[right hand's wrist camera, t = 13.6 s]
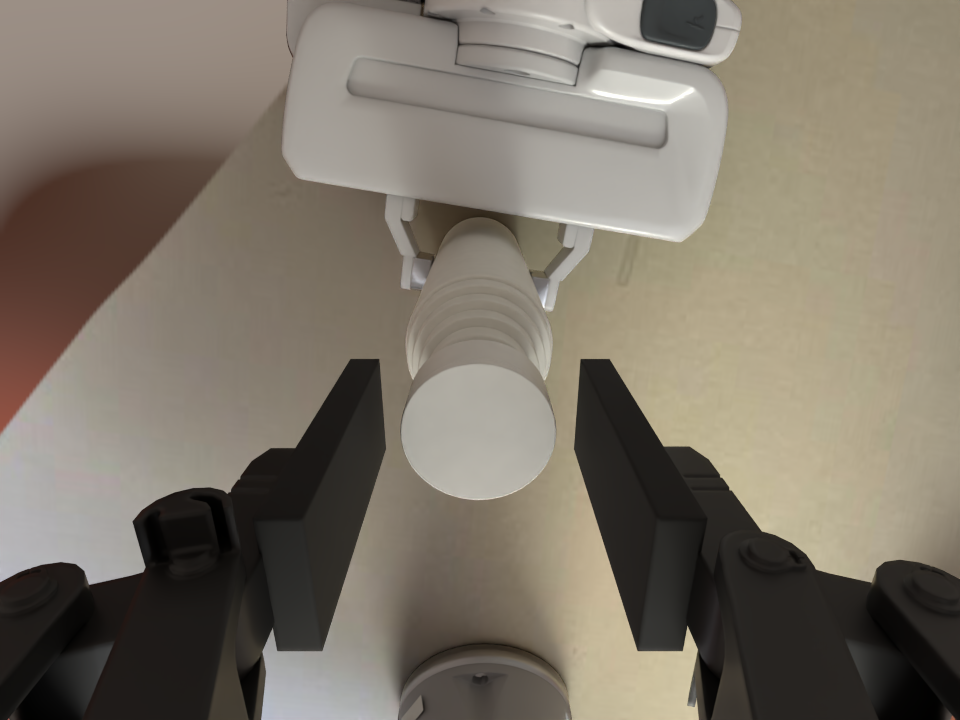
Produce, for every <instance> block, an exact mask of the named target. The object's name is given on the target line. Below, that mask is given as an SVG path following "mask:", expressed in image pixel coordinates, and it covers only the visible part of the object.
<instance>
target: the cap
mask: <svg viewBox="0 0 960 720" xmlns="http://www.w3.org/2000/svg"><path fill="white" fill-rule="evenodd" d="M400 432H401V442H402V446H403V450H404V452H405V455H406V457H407V459H408V461H409V463H410V465H411V466H412V467H413V469H414V470H415V471H416V473H417V474H418V475H419V476H420V477H421V478H422V479H423V480H424V481H426V482H427V483H428V484H429V485H431V486H433V487H434V488H436V489H437V490H439V491H442V492H444V493H446V494H448V495H452V496H455V497H459V498H463V499H472V500H486V499H494V498H498V497H502V496H506V495H508V494H511V493H513V492H515V491H517V490H519V489H521V488H523V487H524V486H526V485H527V484H529V483H530V482H531V481H532V480H534V479H535V478H536V477H537V476H538V475H539V474H540V472H541V471H542V470H543V469H544V467H545V466H546V464H547V463H548V461H549V459H550V457H551V455H552V452H553V449H554V445H555V440H556V422H555V417H554V413H553V410H552V406H551V402H550V399H549V395H548V392H547V388H546V384H545V382H544V380H543V377H542V375H541V374H540V372H539V370H538V369H537V368H536V366H535V365H534V364H533V363H532V362H531V361H530V360H529V359H528V358H527V357H526V356H525V355H523V354H522V353H521V352H519V351H518V350H516V349H514V348H512V347H510V346H508V345H505V344H502V343H499V342H495V341H489V340H468V341H462V342H458V343H455V344H452V345H449V346H447V347H445V348H443V349H441V350H440V351H438V352H436V353H435V354H434V355H432V356H431V357H430V358H429V359H428V360H427V361H426V362H425V363H424V364H423V365H422V366H421V368H420V369H419V370H418V372H417V374H416V376H415V377H414V380H413V382H412V385H411V388H410V391H409V395H408V398H407V401H406V405H405V408H404V412H403V416H402V420H401V430H400Z"/></svg>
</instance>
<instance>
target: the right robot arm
mask: <svg viewBox="0 0 960 720" xmlns="http://www.w3.org/2000/svg"><path fill="white" fill-rule="evenodd" d="M385 450H386V444H385V430H384V417H383V403H382V390H381V376H380V363H379V359H350V361H349V363H348V364H347V366H346V367H345V369H344V371H343V372H342V374H341V375H340V377H339V379H338V380H337V382H336V384H335V385H334V387H333V388H332V390H331V392H330V393H329V395H328V397H327V398H326V400H325V401H324V403H323V405H322V406H321V408H320V409H319V411H318V413H317V414H316V416H315V418H314V419H313V421H312V422H311V424H310V426H309V427H308V429H307V430H306V432H305V434H304V435H303V437H302V439H301V440H300V442H299V443H298V445H297V447H296V448H271V449H269V450H268V451H266V452H265V453H263V454H262V455H260V456H259V457H257V458H256V459H254V460H253V461H252V462H251V463H250V464H249V466H248V467H247V468H246V470H245V471H244V472H243V474H242V475H241V478H240V480H238V481H237V482H236V483H235V485H234V486H233V487H232V489H231V492H229V493H228V494H227V493H225V492H224V491H223V490H218V489H214V488H192V489H188V490H183V491H179V492H175V493H172V494H170V495H168V496H165V497H163V498H161V499H158V500H156V501H155V502H153V503H152V504H150V505H149V506H147V507H146V508H145V509H143V510H142V511H141V512H140V513H139V514H138V516H137V517H136V518H135V519H134V521H133V525H134V528H135V532H136V535H137V539H138V542H139V546H140V549H141V552H142V556H143V559H144V563H145V566H146V568H145V570H144V572H143V573H139V574H136V575H132V576H128V577H123V578H119V579H114V580H110V581H105V582H101V583H96V584H92V585H89V584H88V581H87V578H86V575H85V572H84V570H82V569H81V568H80V567H79V566H77V565H76V564H70V563H63V562H59V563H52V564H45V565H40V566H37V567H33V568H31V569H27V570H24V571H22V572H19V573H17V574H15V575H13V576H11V577H9V578H8V579H6V580H4V581H2V582H0V720H8V718H9V719H10V720H261V715H262V706H263V696H264V687H265V677H266V670H265V663H264V657H263V652H262V651H263V648H264V646H265V644H266V642H267V639H268V637H269V635H270V632H271V630H272V628H273V631H274V636H275V641H276V646H277V651H322V650H323V647H324V644H325V641H326V638H327V634H328V631H329V628H330V625H331V622H332V618H333V615H334V612H335V609H336V606H337V603H338V599H339V596H340V593H341V590H342V587H343V584H344V580H345V577H346V574H347V571H348V568H349V564H350V561H351V558H352V555H353V552H354V549H355V545H356V542H357V539H358V536H359V533H360V530H361V526H362V523H363V520H364V517H365V514H366V510H367V507H368V504H369V501H370V498H371V495H372V491H373V488H374V485H375V482H376V479H377V476H378V472H379V469H380V466H381V463H382V460H383V456H384V453H385ZM574 450H575V453H576V456H577V460H578V463H579V466H580V469H581V472H582V475H583V479H584V482H585V485H586V488H587V491H588V495H589V498H590V501H591V504H592V507H593V510H594V514H595V517H596V520H597V523H598V526H599V530H600V533H601V536H602V539H603V542H604V545H605V549H606V552H607V555H608V558H609V561H610V564H611V568H612V571H613V574H614V577H615V580H616V584H617V587H618V590H619V593H620V596H621V599H622V603H623V606H624V609H625V612H626V615H627V618H628V622H629V625H630V628H631V631H632V634H633V638H634V641H635V644H636V647H637V650H638V651H683V646H684V641H685V636H686V631H687V625H688V627H689V630H690V632H691V634H692V637H693V639H694V641H695V643H696V646H697V648H698V652H697V657H696V662H695V667H694V672H693V677H692V682H691V687H690V692H689V698H688V705H687V706H692V707H695V703H696V698H697V704H698V714H699V720H950V719H951V717H952V716H953V717H954V718H955V719H956V720H960V579H958V578H956V577H954V576H952V575H950V574H948V573H946V572H945V571H943V570H940V569H938V568H935V567H931V566H929V565H925V564H922V563H918V562H911V561H904V560H896V561H888V562H884V563H883V564H882V565H881V566H879V567H878V568H877V569H876V572H875V575H874V578H873V581H872V583H870V582H865V581H861V580H856V579H852V578H847V577H843V576H838V575H834V574H829V573H826V572H822V571H819V570H816V569H815V567H814V565H813V564H812V562H811V561H810V559H809V558H808V557H807V555H806V554H805V553H804V552H802V551H801V550H800V549H798V548H797V547H796V546H795V545H793V544H792V543H790V542H788V541H786V540H784V539H782V538H780V537H778V536H776V535H773V534H769V533H765V532H762V531H761V530H760V528H759V527H758V526H757V524H756V523H755V522H754V520H753V519H752V518H751V516H750V515H749V514H748V512H747V511H746V509H745V508H744V507H743V505H742V504H741V503H740V501H739V500H738V499H737V497H736V496H735V495H734V493H733V492H732V491H730V490H729V486H728V485H727V484H726V482H725V481H724V480H723V478H720V474H719V473H718V472H717V470H716V469H715V468H714V466H713V465H712V463H711V462H710V461H709V460H708V459H707V458H706V457H704V456H703V455H701V454H700V453H698V452H697V451H695V450H694V449H692V448H691V447H663V445H662V443H661V442H660V440H659V439H658V437H657V435H656V434H655V432H654V430H653V429H652V427H651V426H650V424H649V422H648V421H647V419H646V418H645V416H644V414H643V413H642V411H641V409H640V408H639V406H638V405H637V403H636V401H635V400H634V398H633V397H632V395H631V393H630V392H629V390H628V388H627V387H626V385H625V384H624V382H623V380H622V379H621V377H620V375H619V374H618V372H617V371H616V369H615V367H614V366H613V364H612V363H611V361H610V359H581V363H580V376H579V390H578V403H577V417H576V430H575V444H574ZM398 720H572V718H571V710H570V704H569V698H568V693H567V689H566V687H565V684H564V682H563V681H562V679H561V677H560V676H559V675H558V673H557V672H556V671H555V670H554V669H553V668H552V667H551V666H550V665H549V664H547V663H546V662H544V661H543V660H542V659H540V658H538V657H537V656H535V655H532V654H530V653H528V652H526V651H523V650H520V649H517V648H513V647H508V646H503V645H493V644H476V645H467V646H461V647H457V648H453V649H450V650H447V651H444V652H442V653H439V654H437V655H435V656H433V657H431V658H430V659H428V660H427V661H425V662H424V663H423V664H421V665H420V666H419V667H418V668H417V669H416V670H415V671H414V672H413V673H412V674H411V675H410V677H409V678H408V680H407V681H406V683H405V685H404V688H403V691H402V695H401V701H400V708H399V715H398Z"/></svg>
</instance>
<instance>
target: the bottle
mask: <svg viewBox="0 0 960 720" xmlns="http://www.w3.org/2000/svg"><path fill="white" fill-rule="evenodd" d="M468 340H489V341H495V342H499V343H502V344H505V345H508V346H510V347H512V348H514V349H516V350H518V351H519V352H521V353H522V354H523V355H525V356H526V357H527V358H528V359H529V360H530V361H531V362H532V363H533V364H534V365H535V366H536V368H537V369H538V370H539V372H540V374H541V375H542V377H543V380H544V381H545V379H546V377H547V374H548V371H549V368H550V363H551V356H552V350H553V338H552V330H551V326H550V323H549V320H548V318H547V315H546V313H545V310H544V308H543V305H542V303H541V300H540V298H539V295H538V293H537V290H536V288H535V285H534V283H533V280H532V278H531V275H530V273H529V270H528V268H527V265H526V263H525V260H524V258H523V255H522V253H521V250H520V248H519V245H518V243H517V240H516V238H515V237H514V235H513V234H512V232H511V231H510V230H509V229H508V228H507V227H506V226H504V225H503V224H501V223H500V222H498V221H496V220H493V219H490V218H484V217H475V218H469V219H466V220H464V221H461V222H460V223H458V224H456V225H455V226H454V227H453V228H451V229H450V230H449V232H448V233H447V234H446V236H445V237H444V239H443V241H442V243H441V246H440V248H439V250H438V253H437V255H436V257H435V260H434V262H433V265H432V267H431V269H430V272H429V274H428V277H427V279H426V281H425V284H424V286H423V289H422V291H421V293H420V296H419V298H418V301H417V303H416V305H415V308H414V310H413V312H412V315H411V317H410V320H409V323H408V326H407V331H406V339H405V347H406V356H407V364H408V368H409V371H410V374H411V377H412V379H413V380H414V377H415V376H416V374H417V372H418V370H419V369H420V368H421V366H422V365H423V364H424V363H425V362H426V361H427V360H428V359H429V358H430V357H431V356H432V355H434V354H435V353H436V352H438V351H440V350H441V349H443V348H445V347H447V346H449V345H452V344H455V343H458V342H462V341H468Z"/></svg>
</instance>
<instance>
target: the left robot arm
mask: <svg viewBox="0 0 960 720" xmlns="http://www.w3.org/2000/svg"><path fill="white" fill-rule="evenodd" d="M423 3H424V11H423V7H422V5H423ZM422 15H423V16H424V17H423V16H422ZM741 24H742V15H741V12H740V9H739V8H738V7H737V5H736V4H735V3H734V2H732V1H731V0H287V31H286V36H287V43H288V47H289V50H290V53H291V55H292V57H293V60H292V65H291V70H290V75H289V81H288V87H287V93H286V100H285V108H284V117H283V127H282V142H281V150H282V155H283V158H284V159H285V161H286V162H287V164H288V166H289V167H290V169H291V170H292V172H293V173H294V175H295V176H296V177H297V178H299V179H302V180H307V181H313V182H319V183H325V184H331V185H337V186H343V187H349V188H355V189H361V190H367V191H373V192H379V193H385V194H387V196H386V207H385V220H386V222H387V225H388V227H389V229H390V231H391V234H392V236H393V238H394V240H395V243H396V245H397V247H398V249H399V252H400V254H401V255H403V264H402V273H401V283H400V286H401V288H403V289H408V290H417V291H422V289H423V286H424V284H425V281H426V279H427V277H428V274H429V272H430V269H431V267H432V265H433V262H434V255H435V254H431V253H425V252H420V250H419V247H418V245H417V242H416V240H415V237H414V235H413V232H412V230H411V227H410V225H409V222H411V221H412V220H413V219H414V218H415V217H416V216H417V215H418V207H419V199H421V200H427V201H433V202H439V203H445V204H451V205H457V206H463V207H469V208H475V209H481V210H487V211H493V212H499V213H505V214H511V215H517V216H523V217H529V218H535V219H541V220H547V221H553V222H559V223H560V226H559V231H558V236H557V239H558V240H559V241H560V243H561V244H562V245H563V246H564V247H563V248H562V250H561V251H560V252H559V253H558V254H557V255H556V257H555V258H554V259H553V260H552V261H551V263H550V264H549V265H548V266H547V267H546V269H545V270H544V271H537V270H529V273H530V275H531V278H532V280H533V283H534V285H535V288H536V290H537V293H538V295H539V298H540V300H541V303H542V305H543V308H544V310H545V311H549V312H552V311H553V308H554V305H555V301H556V296H557V292H558V287H559V282H560V281H563V280H564V278H565V277H566V276H567V275H568V274H569V273H570V272H571V271H572V270H573V269H574V268H575V266H576V265H577V264H578V263H579V262H580V261H581V260H582V259H583V258H584V257H585V255H586V254H587V253H588V252H589V249H590V245H591V241H592V237H593V233H594V228H595V229H601V230H607V231H613V232H619V233H625V234H631V235H637V236H643V237H649V238H655V239H661V240H667V241H673V242H682V241H684V240H685V239H686V238H688V237H689V236H690V235H691V234H692V233H693V232H695V231H696V230H697V229H698V228H699V227H700V226H701V225H702V224H703V222H704V220H705V218H706V215H707V212H708V209H709V206H710V203H711V199H712V196H713V192H714V188H715V184H716V180H717V176H718V172H719V167H720V163H721V158H722V153H723V147H724V142H725V136H726V129H727V123H728V100H727V94H726V91H725V88H724V86H723V84H722V82H721V80H720V79H719V78H718V77H717V75H716V74H715V73H713V72H712V71H711V70H709V68H711V67H713V66H715V65H717V64H719V63H720V62H722V61H724V60H725V59H726V58H727V57H728V56H729V55H730V54H731V52H732V51H733V49H734V47H735V44H736V42H737V39H738V36H739V32H740V29H741ZM408 221H409V222H408Z"/></svg>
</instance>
